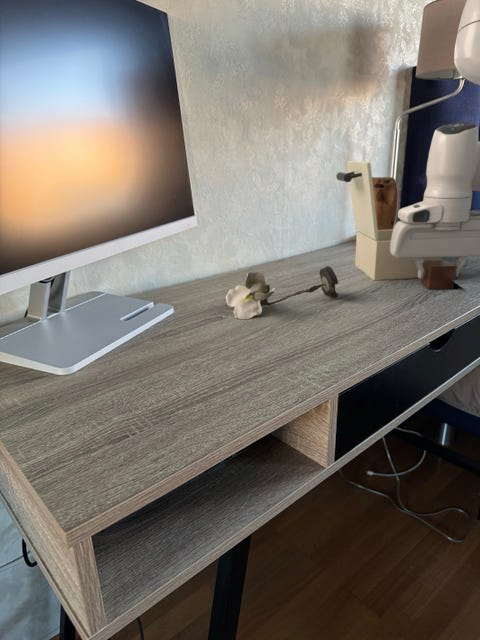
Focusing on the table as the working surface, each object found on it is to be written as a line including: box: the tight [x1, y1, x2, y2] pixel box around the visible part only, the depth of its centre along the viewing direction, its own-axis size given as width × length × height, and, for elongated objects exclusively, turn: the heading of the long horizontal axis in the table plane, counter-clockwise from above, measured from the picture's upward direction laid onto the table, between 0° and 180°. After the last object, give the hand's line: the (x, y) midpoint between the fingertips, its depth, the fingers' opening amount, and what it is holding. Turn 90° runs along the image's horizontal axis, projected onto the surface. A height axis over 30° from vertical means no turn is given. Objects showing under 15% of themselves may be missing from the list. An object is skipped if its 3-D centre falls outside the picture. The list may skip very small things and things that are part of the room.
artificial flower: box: [225, 265, 340, 320], centre depth 85 cm, size 9×22×10 cm, turn 107°
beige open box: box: [354, 228, 444, 281], centre depth 106 cm, size 16×14×9 cm
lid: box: [335, 160, 379, 240], centre depth 101 cm, size 16×14×5 cm
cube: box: [420, 259, 456, 291], centre depth 94 cm, size 5×5×5 cm
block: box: [372, 176, 398, 230], centre depth 129 cm, size 11×8×20 cm
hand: (437, 277), depth 94 cm, fingers closed on cube, 5 cm apart
